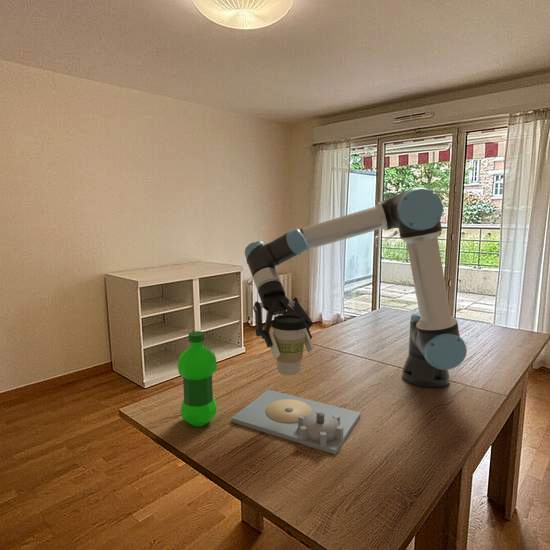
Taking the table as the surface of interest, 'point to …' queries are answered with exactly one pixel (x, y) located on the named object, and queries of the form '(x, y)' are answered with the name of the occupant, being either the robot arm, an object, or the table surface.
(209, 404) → the plastic bottle
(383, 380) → the table surface
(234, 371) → the table surface
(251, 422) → the gear board
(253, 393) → the table surface
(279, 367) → the coffee cup
